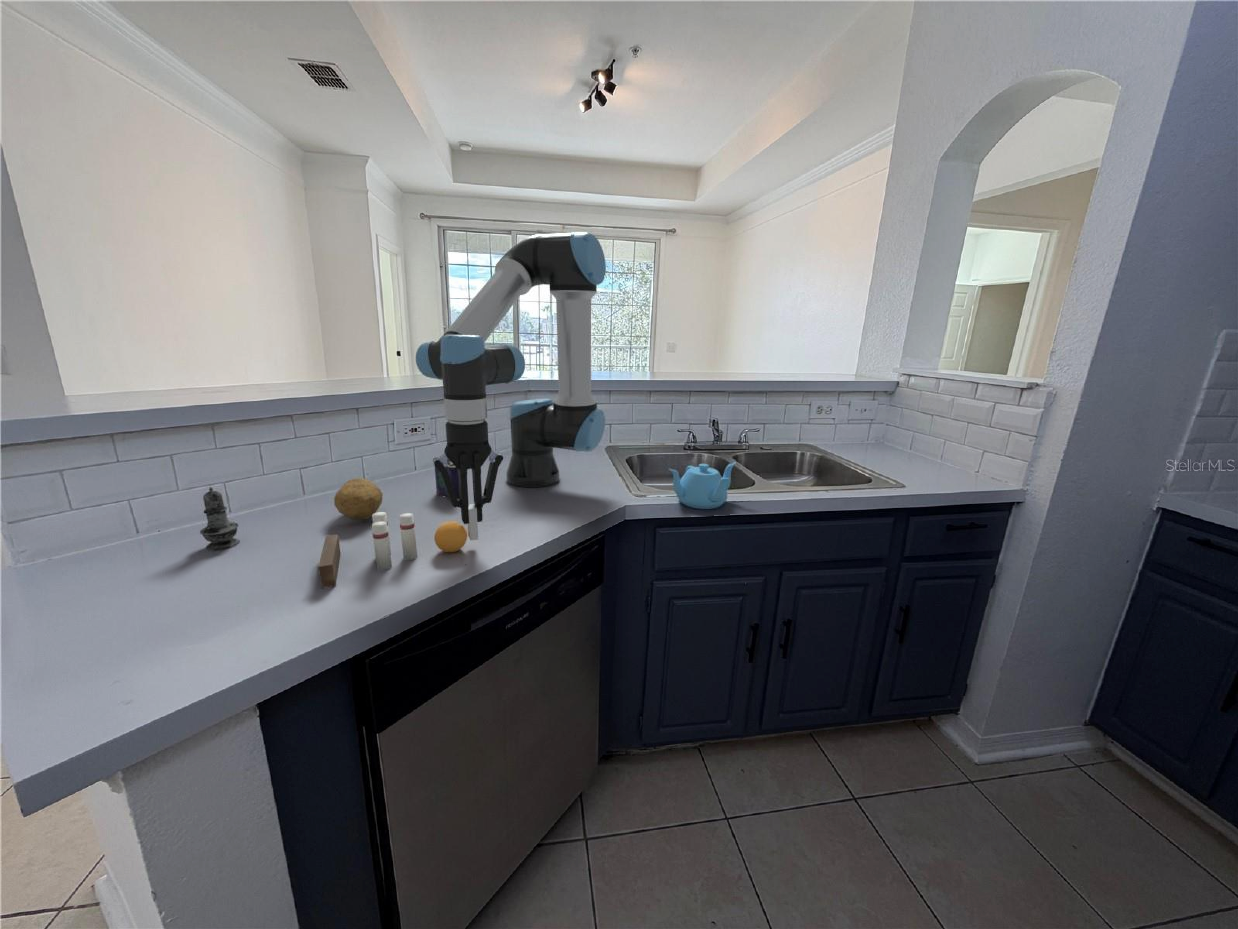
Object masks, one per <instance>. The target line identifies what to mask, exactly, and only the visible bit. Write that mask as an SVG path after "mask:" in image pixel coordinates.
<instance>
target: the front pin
mask: <svg viewBox="0 0 1238 929" xmlns="http://www.w3.org/2000/svg"><path fill="white" fill-rule="evenodd" d="M398 517H399V529H400V536H401V546H402V555H403V559H404V560H405V561H412V560H415V559H417V558H418V549H417V541H416V540H417V539H416V529H415V520H414V514H413V513H409V512H407V513H405V512H404V513H402V514H400V515H399V516H398Z"/></svg>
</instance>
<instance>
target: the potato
mask: <svg viewBox="0 0 1238 929" xmlns="http://www.w3.org/2000/svg"><path fill="white" fill-rule="evenodd" d="M333 502H334V508H336V509H337V511H338V513H339V514H342V515H344V516H345V517H347V518H350V519H352V520H363V521H364V520H366V519H369V518H370V517H372V515H373V514H374V513H377V511H378V509H379V508H380V507H381V505H382V502H383V492H382V490H381V489H380V488H379V487H378V486H377V485H375V483H374V482H372V481H371V480H368V479H365V478H357V477H356V478H352V479H349V480H348V481H346V482H345V483H343V485H342V486H341V487H340V488H339V489H338V491H336V493H335V496H334V498H333Z"/></svg>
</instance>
